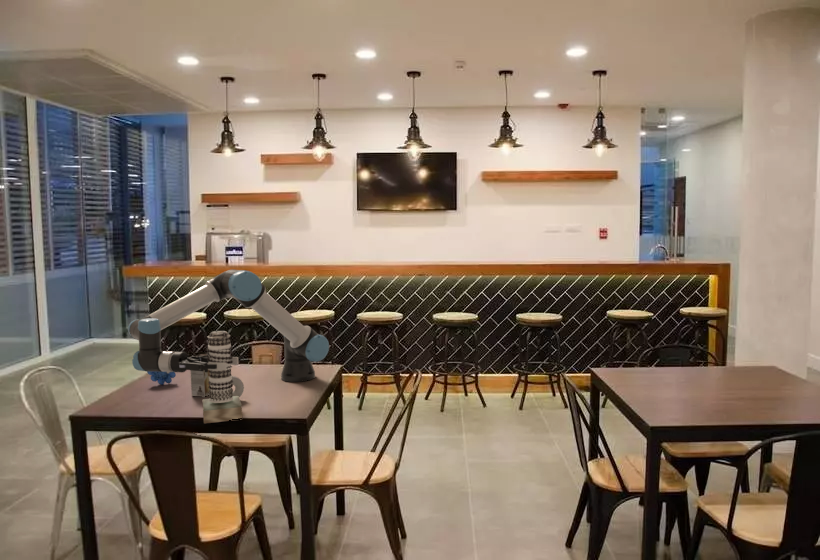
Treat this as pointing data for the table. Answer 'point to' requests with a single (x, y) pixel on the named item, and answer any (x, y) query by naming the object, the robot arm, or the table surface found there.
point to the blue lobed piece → (161, 376)
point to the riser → (222, 410)
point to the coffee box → (200, 382)
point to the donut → (237, 386)
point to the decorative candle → (220, 378)
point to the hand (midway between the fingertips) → (232, 363)
